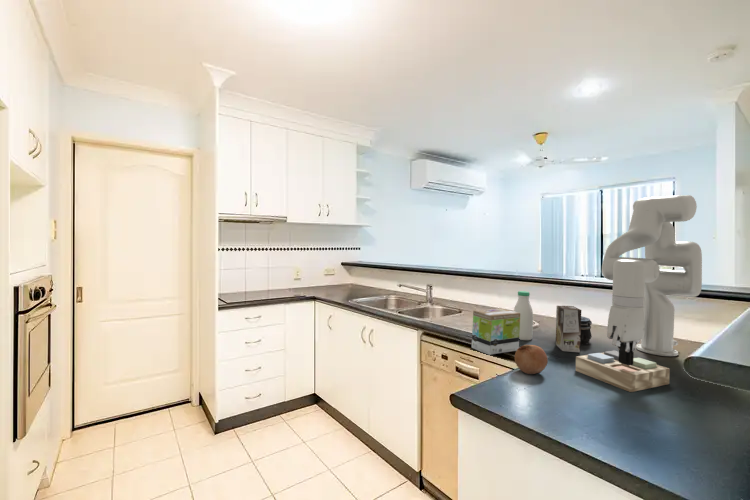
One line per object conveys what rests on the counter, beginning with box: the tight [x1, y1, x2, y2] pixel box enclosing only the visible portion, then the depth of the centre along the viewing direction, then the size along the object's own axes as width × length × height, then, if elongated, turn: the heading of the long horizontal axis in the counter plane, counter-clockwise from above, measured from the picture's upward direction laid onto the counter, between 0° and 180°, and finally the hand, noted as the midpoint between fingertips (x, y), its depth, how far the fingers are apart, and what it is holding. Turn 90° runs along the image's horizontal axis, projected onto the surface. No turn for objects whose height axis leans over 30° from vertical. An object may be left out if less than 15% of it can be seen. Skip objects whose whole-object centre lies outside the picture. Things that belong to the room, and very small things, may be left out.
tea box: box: [471, 307, 520, 356], centre depth 134 cm, size 15×10×15 cm, turn 117°
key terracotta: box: [614, 366, 637, 372], centre depth 104 cm, size 5×5×3 cm
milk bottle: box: [513, 290, 534, 341], centre depth 151 cm, size 8×8×20 cm
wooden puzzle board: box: [575, 352, 671, 393], centre depth 108 cm, size 17×17×5 cm
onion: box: [514, 344, 549, 375], centre depth 111 cm, size 10×9×10 cm
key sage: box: [633, 357, 657, 369], centre depth 106 cm, size 5×5×3 cm
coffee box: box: [555, 305, 582, 353], centre depth 137 cm, size 9×6×16 cm
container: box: [580, 315, 593, 346], centre depth 148 cm, size 13×13×10 cm
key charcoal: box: [603, 349, 619, 361], centre depth 113 cm, size 5×5×3 cm
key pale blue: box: [587, 352, 614, 364], centre depth 110 cm, size 5×5×3 cm
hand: (625, 363), depth 104 cm, fingers closed
